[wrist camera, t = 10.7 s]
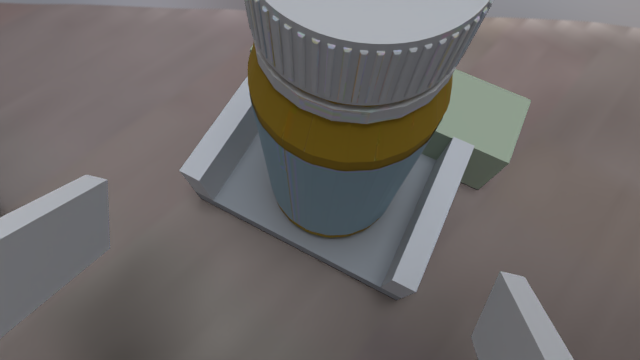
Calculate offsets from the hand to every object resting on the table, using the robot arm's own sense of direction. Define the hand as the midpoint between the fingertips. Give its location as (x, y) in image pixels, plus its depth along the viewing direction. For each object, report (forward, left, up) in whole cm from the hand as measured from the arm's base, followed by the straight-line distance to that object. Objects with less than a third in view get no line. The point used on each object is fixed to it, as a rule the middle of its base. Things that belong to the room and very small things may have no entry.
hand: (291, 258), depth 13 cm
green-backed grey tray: (+1, -8, -9) cm, 12 cm away
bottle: (+1, -6, -8) cm, 11 cm away
